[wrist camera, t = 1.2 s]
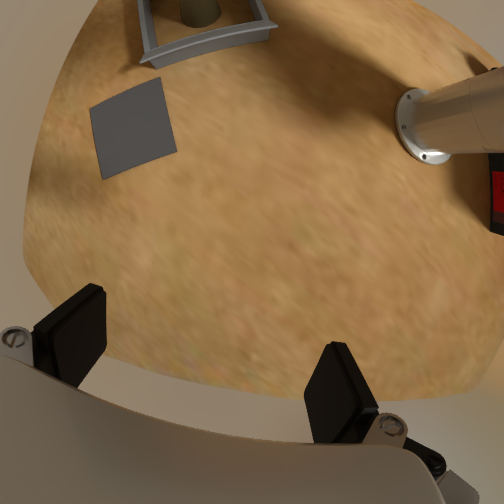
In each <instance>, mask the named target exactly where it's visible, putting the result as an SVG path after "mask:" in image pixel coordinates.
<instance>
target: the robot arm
mask: <svg viewBox="0 0 504 504" xmlns="http://www.w3.org/2000/svg"><path fill="white" fill-rule="evenodd" d="M395 121H396V127H397V131H398V134H399V136H400V139H401V141H402V142H403V144H404V146H405V147H406V149H407V150H408V151H409V152H410V154H411V155H412V156H413V157H415V158H416V159H417V160H419V161H421V162H423V163H425V164H429V165H437V164H442V163H444V162H446V161H447V160H448V159H449V158H450V157H451V155H452V154H464V153H504V66H503V67H500V68H497V69H494V70H492V71H489V72H486V73H483V74H480V75H477V76H474V77H471V78H469V79H466V80H463V81H460V82H457V83H454V84H452V85H449V86H446V87H444V88H441V89H439V90H436V91H433V92H430V91H427V90H424V89H412V90H410V91H408V92H406V93H404V94H403V95H402V96H401V97H400V99H399V101H398V102H397V106H396V111H395ZM106 346H107V335H106V292H105V291H103V287H101V286H98V285H95V284H92V283H89V284H88V285H86V286H85V287H84V288H82V289H81V290H80V291H78V292H77V293H76V294H74V295H73V296H72V297H70V298H69V299H68V300H66V301H65V302H64V303H62V304H61V305H60V306H59V307H57V308H56V309H55V310H53V311H52V312H51V313H50V314H48V315H47V316H46V317H45V318H43V319H42V320H41V321H40V322H39V323H37V324H36V325H35V326H34V330H33V331H32V332H31V333H30V332H29V331H28V330H27V329H25V328H22V327H18V326H14V327H9V328H6V329H5V330H3V331H2V332H1V333H0V504H478V503H479V495H478V492H477V491H476V490H475V489H474V488H473V487H472V486H470V485H469V484H468V483H467V482H465V481H464V480H463V479H462V478H460V477H459V476H458V475H456V474H455V473H454V472H453V471H451V470H449V471H448V472H447V471H446V461H445V459H444V458H443V457H442V456H441V455H440V454H439V453H437V452H435V451H434V450H431V449H429V448H427V447H425V446H423V445H422V444H419V443H418V442H416V441H414V440H412V439H410V438H408V437H406V436H407V433H408V428H407V425H406V423H405V422H404V421H403V420H402V419H401V418H400V417H398V416H397V415H395V414H392V413H381V414H379V412H378V410H377V409H378V408H379V407H378V405H377V403H376V401H375V399H374V397H373V395H372V393H371V391H370V389H369V387H368V385H367V383H366V381H365V379H364V377H363V375H362V373H361V371H360V369H359V367H358V365H357V364H356V362H355V360H354V358H353V356H352V354H351V352H350V350H349V348H348V347H347V345H346V343H342V342H335V341H332V342H331V343H330V344H327V345H326V346H325V348H324V351H323V353H322V355H321V357H320V359H319V362H318V364H317V366H316V368H315V370H314V372H313V374H312V376H311V378H310V380H309V383H308V385H307V387H306V389H305V391H304V400H305V404H306V409H307V413H308V418H309V422H310V427H311V431H312V436H313V440H314V443H298V442H283V441H271V440H262V439H253V438H246V437H239V436H232V435H227V434H221V433H215V432H210V431H205V430H201V429H195V428H192V427H187V426H183V425H179V424H175V423H171V422H168V421H164V420H161V419H157V418H154V417H151V416H148V415H144V414H141V413H138V412H135V411H132V410H129V409H127V408H124V407H121V406H118V405H116V404H113V403H110V402H108V401H105V400H103V399H100V398H98V397H95V396H93V395H91V394H88V393H86V392H84V391H82V390H79V389H77V388H78V386H79V385H80V383H81V382H82V381H83V379H84V378H85V377H86V375H87V374H88V372H89V371H90V370H91V368H92V367H93V366H94V364H95V363H96V362H97V360H98V358H99V357H100V356H101V355H102V354H103V352H104V351H105V349H106Z"/></svg>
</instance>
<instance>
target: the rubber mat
mask: <svg viewBox="0 0 504 504" xmlns="http://www.w3.org/2000/svg"><path fill="white" fill-rule="evenodd" d="M90 114H91V121H92V127H93V134H94V139H95V145H96V150H97V155H98V160H99V165H100V169H101V174H102V178H103V180H104V179H107V178H109V177H111V176H114V175H116V174H119V173H121V172H123V171H126V170H128V169H131V168H133V167H136V166H139V165H141V164H144V163H147V162H149V161H152V160H155V159H158V158H160V157H163V156H166V155H169V154H172V153H175V152H177V149H176V145H175V141H174V136H173V132H172V128H171V124H170V119H169V115H168V111H167V106H166V102H165V97H164V93H163V88H162V83H161V78H160V77H158V78H155V79H153V80H150V81H148V82H145V83H143V84H140V85H138V86H136V87H133V88H131V89H129V90H127V91H124V92H122V93H120V94H118V95H116V96H114V97H112V98H109V99H107V100H105V101H103V102H101V103H100V104H98V105H96V106H94V107H92V108H90Z"/></svg>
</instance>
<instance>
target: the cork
mask: <svg viewBox="0 0 504 504" xmlns="http://www.w3.org/2000/svg"><path fill="white" fill-rule="evenodd" d="M179 4H180V10H181V16H182V21H183V22H184V24H186V25H187V26H189V27H193V28H200V27H206V26H208V25H210V24H212V23H214V22H215V21H216V20H217V19H218V18H219V17H220V13H221V11H220V7H219V5H218V3H217V1H216V0H179Z"/></svg>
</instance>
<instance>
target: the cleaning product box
mask: <svg viewBox="0 0 504 504" xmlns="http://www.w3.org/2000/svg"><path fill="white" fill-rule="evenodd" d="M488 157H489V169H490V188H491V218H490V232H493V233H496V234H499V235H502V236H504V153H488Z"/></svg>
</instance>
